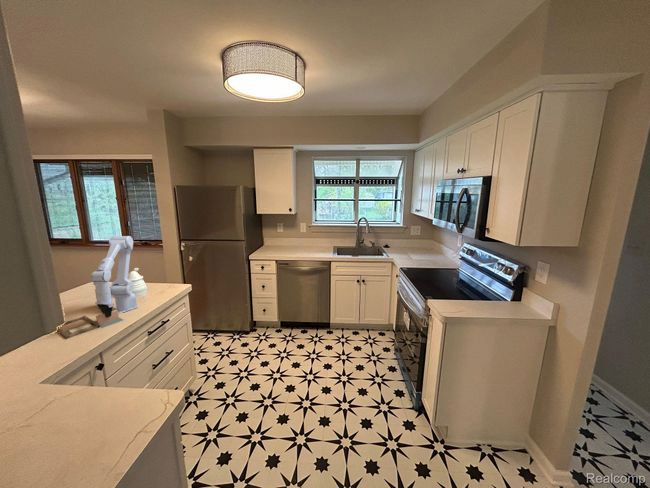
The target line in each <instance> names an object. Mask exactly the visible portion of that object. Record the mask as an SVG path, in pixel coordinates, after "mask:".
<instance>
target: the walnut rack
mask: <svg viewBox="0 0 650 488" xmlns="http://www.w3.org/2000/svg"><path fill="white" fill-rule="evenodd" d="M83 320H85V322H87V323H84V324H82V325H81V324H80V325H79V326H76V327H73V328H69V329H67V330H66V329H65V330H64V331H63V330H62V329H61V328H60V327H58V330H57V331H56V332H57V333H59V332H60V333H59V334H60V335H61V336H62V337H63V338H65V339H66V340H68V339H70V338H73V337H77V336H79V335H82V334H85V333H89V332H91V331H93V330H96V329H99V328H101V327H100V325H99V324H97V323H96V322H94V321H95V320H92V319H91V318H90V317H88V316H86V315H82V316H81V317H78V318H74V319H70V320H68V321H65V322H66V323H65V324H64V325H63V326H67V325H69V324H72V323H75V322H78V321H83ZM86 324H91V325H92V327H91V328H88V329H85V330H82V331H79V332H76V333H73V334H70V333H69V330H72V329H75V328H78V327H81V326H83V325H86Z"/></svg>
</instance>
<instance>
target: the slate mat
mask: <svg viewBox="0 0 650 488" xmlns="http://www.w3.org/2000/svg"><path fill="white" fill-rule="evenodd" d="M93 321H94V322H96V323H97V320H93ZM122 321H123V322H124V319H123V318H121V317H119V318H118V319H115V320H112V321H109V322H106V323H103V324H101V325H100V327H99V328H101V329H104V328H106V327H109V326H111V325H114V324H117V323H121V322H122Z"/></svg>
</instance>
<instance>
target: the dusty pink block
mask: <svg viewBox="0 0 650 488" xmlns="http://www.w3.org/2000/svg"><path fill="white" fill-rule="evenodd" d="M118 318H120V316H119V313H118V311H117V310H114V309H113V310H112V313H111V316H110V317H107V318H106V317H105V314H102V313H101V314H99V315H96V316H95V319H96V320H97V324H99V325H101V324H103V323H106V322H109V321H112V320H115V319H118ZM96 320H95V321H96Z"/></svg>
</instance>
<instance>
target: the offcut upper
mask: <svg viewBox="0 0 650 488" xmlns="http://www.w3.org/2000/svg"><path fill="white" fill-rule="evenodd" d="M85 324H86V325H84V324H82V325H83V326H81V325H80V326H81V327H78V326H77V327H78V328H75V327H74V328H75V329H72V328H71V329H72V330H69V329H68V330H69V333H68V334H69V335H71V334H73V333H76V332H79V331H82V330H85V329H88V328H91V327H93V325H91V324H87V323H85Z"/></svg>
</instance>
